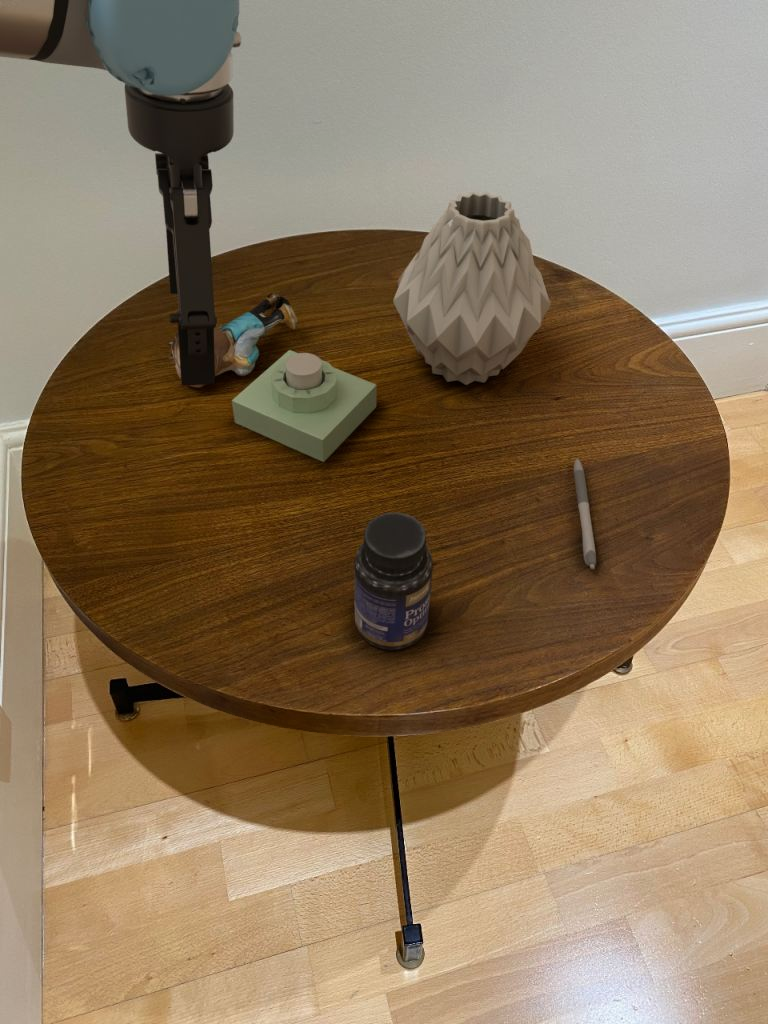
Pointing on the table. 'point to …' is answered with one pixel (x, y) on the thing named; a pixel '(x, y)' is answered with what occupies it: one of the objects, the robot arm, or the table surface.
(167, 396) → the table surface
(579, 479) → the pen
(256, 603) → the table surface
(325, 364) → the green base with collar
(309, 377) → the cylinder peg
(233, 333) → the figurine
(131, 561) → the table surface
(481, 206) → the vase
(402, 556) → the pill bottle
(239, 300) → the table surface
